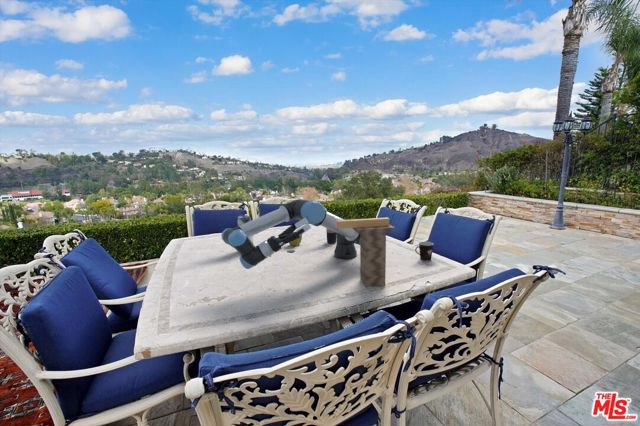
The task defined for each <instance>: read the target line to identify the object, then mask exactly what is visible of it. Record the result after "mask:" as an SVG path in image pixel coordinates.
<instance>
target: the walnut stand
mask: <svg viewBox="0 0 640 426" xmlns="http://www.w3.org/2000/svg"><path fill="white" fill-rule="evenodd" d="M353 229H354V230H355V231H356V232H357V233H358V234H360V245H359V247H360V249H359V252H360V253H359V257H360V258H359V259H360V262H359V264H360V266H359V268H360V275H359V276H360V277H359V279H360V282H361V283H362V284H363V285H364V287H365V288H375V287H385V286H386V273H387V271H386V269H387V267H386V265H387V263H386V262H387V261H386V259H387V256H386V255H387V252H386V251H387V250H386V249H387V248H386V247H387V233H390V232H391V233H392V232H396V231H395V230H396V227H395V226H393V225H391V224H390V223H389V226H374V227H357V228H353Z"/></svg>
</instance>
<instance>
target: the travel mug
mask: <svg viewBox="0 0 640 426" xmlns="http://www.w3.org/2000/svg"><path fill="white" fill-rule="evenodd" d="M325 229H326V232H325V233H326V243H327V244H329V245H334V244H335V245H336V244H337V239H336V232H334V231H332V230H330V229H328V228H325Z"/></svg>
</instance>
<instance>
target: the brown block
mask: <svg viewBox="0 0 640 426" xmlns="http://www.w3.org/2000/svg"><path fill="white" fill-rule="evenodd" d="M389 224H390V218H389V217H373V218H355V219H343V220H337V228H338V229H341V228H357V227H374V226H389Z"/></svg>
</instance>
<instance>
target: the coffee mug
mask: <svg viewBox="0 0 640 426" xmlns="http://www.w3.org/2000/svg"><path fill="white" fill-rule="evenodd" d="M417 249H419V252H418V251H417ZM414 250H415V253H416V254H418V255H419V258H420V260H422V261H426V260H429V261H431V260H432V256H433V250H434V242H431V241H419V242H418V246H416V247H415V249H414Z"/></svg>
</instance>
